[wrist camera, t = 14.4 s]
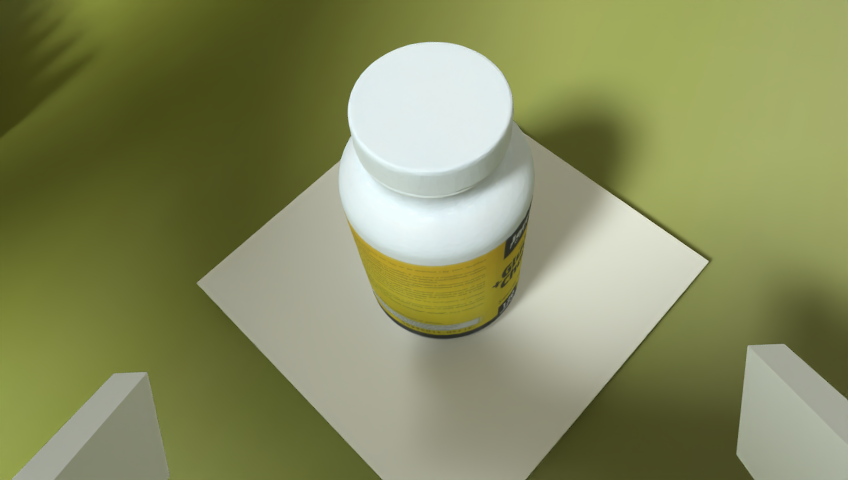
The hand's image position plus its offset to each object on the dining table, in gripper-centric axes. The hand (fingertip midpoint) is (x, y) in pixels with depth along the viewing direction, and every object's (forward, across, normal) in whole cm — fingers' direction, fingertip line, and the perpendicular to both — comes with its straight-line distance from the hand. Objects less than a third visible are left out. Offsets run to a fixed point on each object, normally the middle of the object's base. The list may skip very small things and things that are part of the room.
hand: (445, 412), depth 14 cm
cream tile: (+15, 0, -3) cm, 15 cm away
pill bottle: (+14, 0, -2) cm, 14 cm away
